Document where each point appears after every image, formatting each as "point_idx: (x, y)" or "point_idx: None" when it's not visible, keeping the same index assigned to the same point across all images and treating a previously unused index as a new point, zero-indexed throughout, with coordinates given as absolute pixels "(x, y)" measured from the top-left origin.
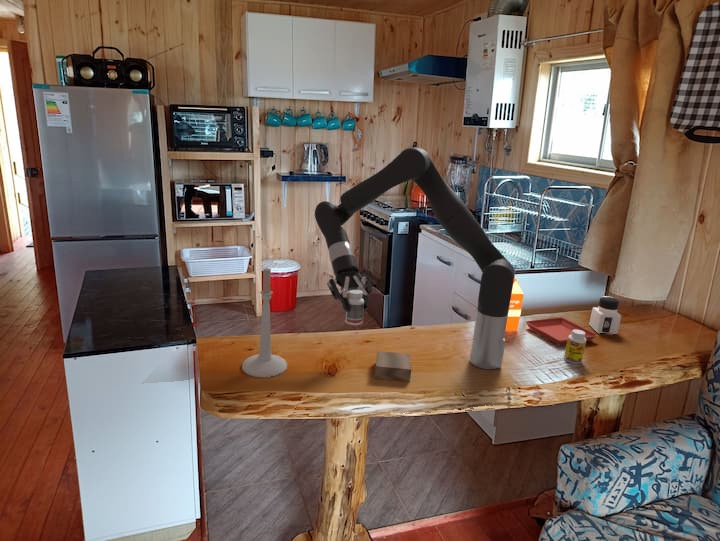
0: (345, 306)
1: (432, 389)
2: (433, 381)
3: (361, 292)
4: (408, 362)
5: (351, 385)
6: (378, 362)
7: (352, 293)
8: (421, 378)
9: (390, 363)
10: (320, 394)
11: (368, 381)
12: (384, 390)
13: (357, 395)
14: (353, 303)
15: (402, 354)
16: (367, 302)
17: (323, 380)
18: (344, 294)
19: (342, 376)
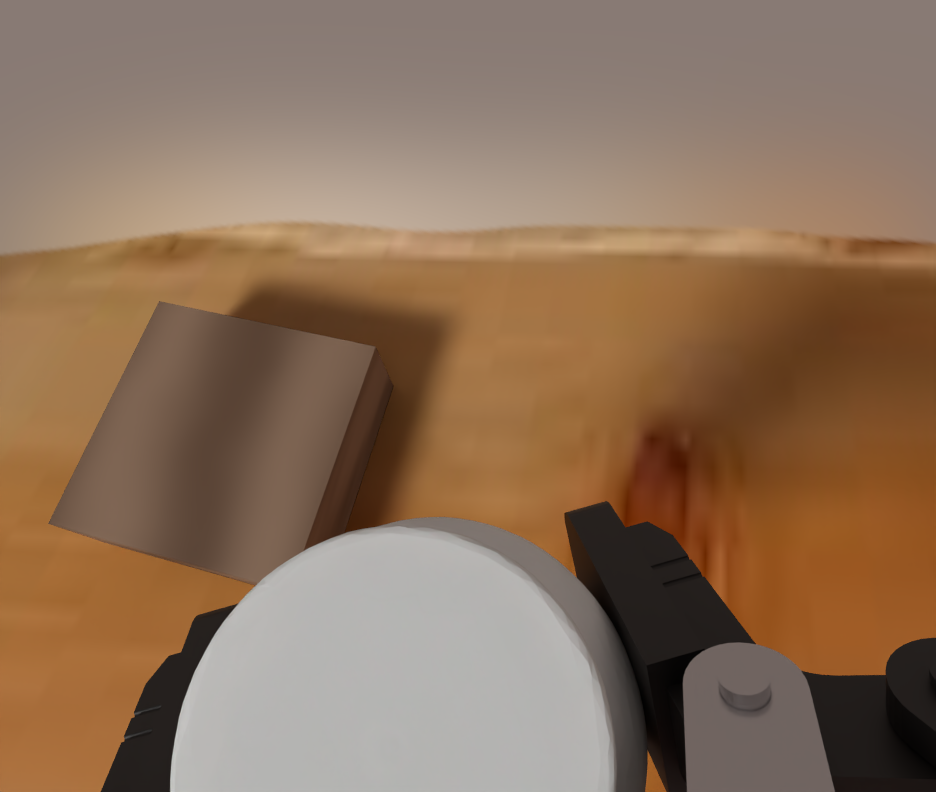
0: (664, 543)
1: (115, 271)
2: (62, 348)
3: (235, 643)
4: (130, 391)
5: (550, 319)
6: (341, 396)
7: (534, 579)
8: (112, 382)
9: (262, 379)
10: (736, 238)
11: (440, 358)
12: (375, 267)
13: (533, 226)
14: (507, 531)
15: (111, 517)
16: (176, 673)
17: (719, 378)
18: (759, 717)
19: (593, 421)
